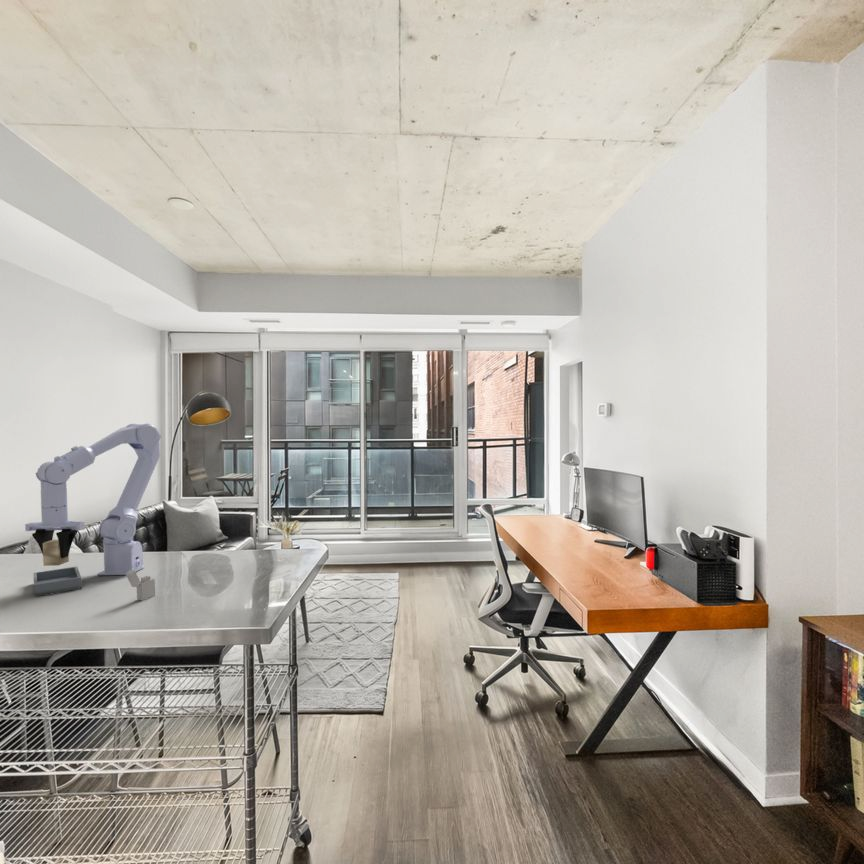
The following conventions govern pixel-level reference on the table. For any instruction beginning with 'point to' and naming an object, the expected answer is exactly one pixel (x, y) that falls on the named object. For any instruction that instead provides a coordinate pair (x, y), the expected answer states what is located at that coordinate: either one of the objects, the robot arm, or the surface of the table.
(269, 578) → the table surface
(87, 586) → the table surface
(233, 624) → the table surface
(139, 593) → the lighter
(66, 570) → the tray
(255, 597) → the table surface
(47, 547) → the block
